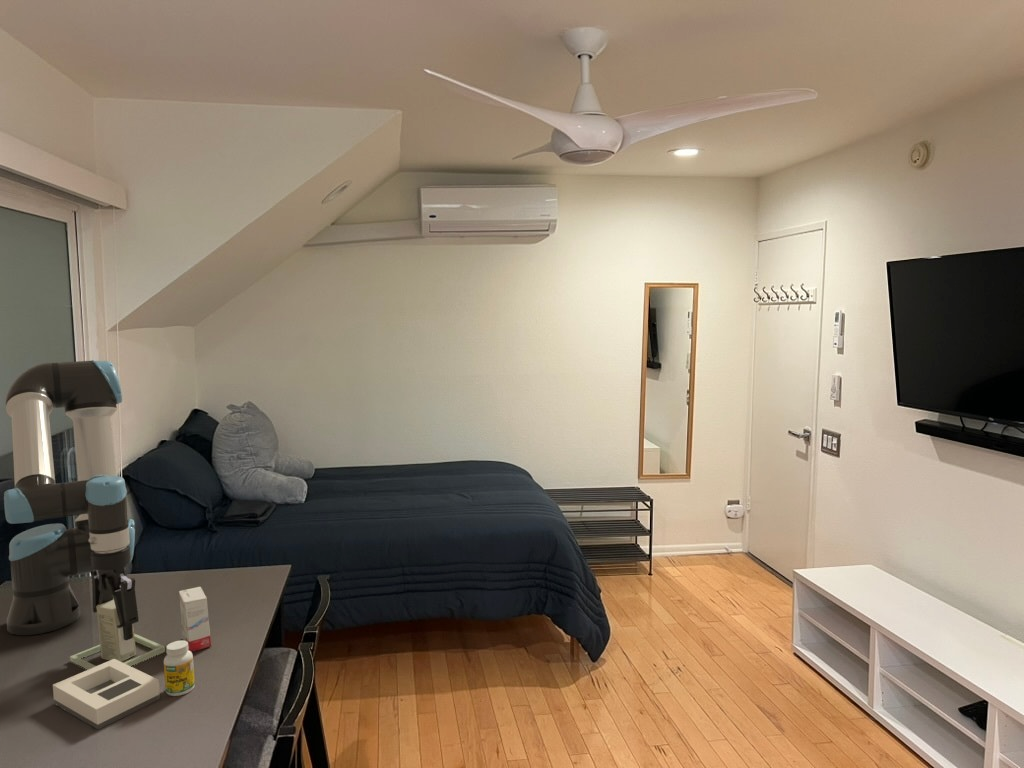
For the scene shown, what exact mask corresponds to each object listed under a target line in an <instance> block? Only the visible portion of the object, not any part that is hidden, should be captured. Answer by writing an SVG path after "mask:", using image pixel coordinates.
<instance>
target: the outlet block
mask: <svg viewBox="0 0 1024 768" xmlns="http://www.w3.org/2000/svg"><path fill="white" fill-rule="evenodd" d="M95 666H96V667H93V668H91V669H89V670H86V669H85V670H84V671H82V672H79V673H77V674H75V675H72V676H70V677H68V678H66V679H63V680H61V681H58V682H56V683H53V684H52V692H53V693H52V694H53V705H55V704H57V705H58V706H60V707H61V708H60V707H59V708H60V709H62V708H63V709H62V710H64V709H65V710H66V712H67V711H68V712H67V713H68V714H70V713H71V715H72V716H74V717H76V718H77V719H79V720H81V721H82V722H84V723H86V724H88V725H89V726H91V727H93V728H94V729H96V730H97V731H98V730H101V729H103V728H105V727H106V726H109V725H111V724H113V723H115V722H116V721H117V722H118V721H119V720H121V719H123V718H124V717H126V716H128V715H130V714H133V713H135V712H137V711H138V710H140V709H142V708H145V707H146V706H148V705H151V704H153V703H154V702H156V701H159V700H160V699H161V696H160V695H161V694H160V682H159V680H160V679H158V678H155V677H153V676H151V675H149V674H148V673H146V672H143V671H141V670H139V669H137V668H135V667H134V666H132V667H131V666H129V665H127V664H124V662H123V661H122V662H120V661H118V660H116V659H112V660H107V661H105V662H103V663H101V664H98V665H95ZM57 705H56V706H57ZM58 706H57V707H58ZM65 710H64V711H65Z"/></svg>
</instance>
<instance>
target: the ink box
mask: <svg viewBox="0 0 1024 768" xmlns="http://www.w3.org/2000/svg"><path fill="white" fill-rule="evenodd" d="M178 594H179V606H180V607H179V608H180V620H181V621H180V622H181V633H182V641H187V642H188V647H189V649H188V650H189V651H190V652H191V653H193V652H196V650H197V651H201V650H203V649H206V648H209V647H212V641H211V631H210V623H209V622H210V620H209V611H208V600H207V599H208V597H207V596H206V595H205V593H204V590H203V588H202V587H201V586H196V587H192V588H191V587H190V588H188V589H182V590H179V591H178ZM192 651H193V652H192Z"/></svg>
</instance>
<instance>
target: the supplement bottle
mask: <svg viewBox="0 0 1024 768" xmlns="http://www.w3.org/2000/svg"><path fill="white" fill-rule="evenodd" d="M188 649H189V647H188V642H187V641H184V640H175V641H172V642H170V643H168V644H167V645H166V646H165V652H166V655H165V656H164V659H163V670H164V673H163V674H164V684H165V685H164V686H165V693H166V694H167V695H168V696H172V697H180V696H183V695H186V694H188V693H190V692H192V691H193V689H195V685H196V683H195V682H196V681H195V669H194V668H195V667H194V657H193V656H194V655H193V652H190V651H189V650H188Z"/></svg>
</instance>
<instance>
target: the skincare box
mask: <svg viewBox="0 0 1024 768" xmlns="http://www.w3.org/2000/svg"><path fill="white" fill-rule="evenodd" d="M96 608H97V612H96V616H97V617H96V618H97V627H98V639H99V645H100V649H101V651H100V657H101V659H103V660H107V661H110V660H112V659H116V660H118V661H120V662H122V663H123V662H124V661H127V660H128V659H130V658H132V657H134V656H136V655H137V649H136V642H135V637H134V633H135V629H134V623H133V624H132V629H133V643H134V651H131V652H129V653H126V654H124V655H120V649H119V636H118V628H117V626H118V625H120V622H119V618H118V614H117V610H116V606H115V602H114V598H113V600H111V601H108V602H105V603H103V604H100V605H98V606H96Z"/></svg>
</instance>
